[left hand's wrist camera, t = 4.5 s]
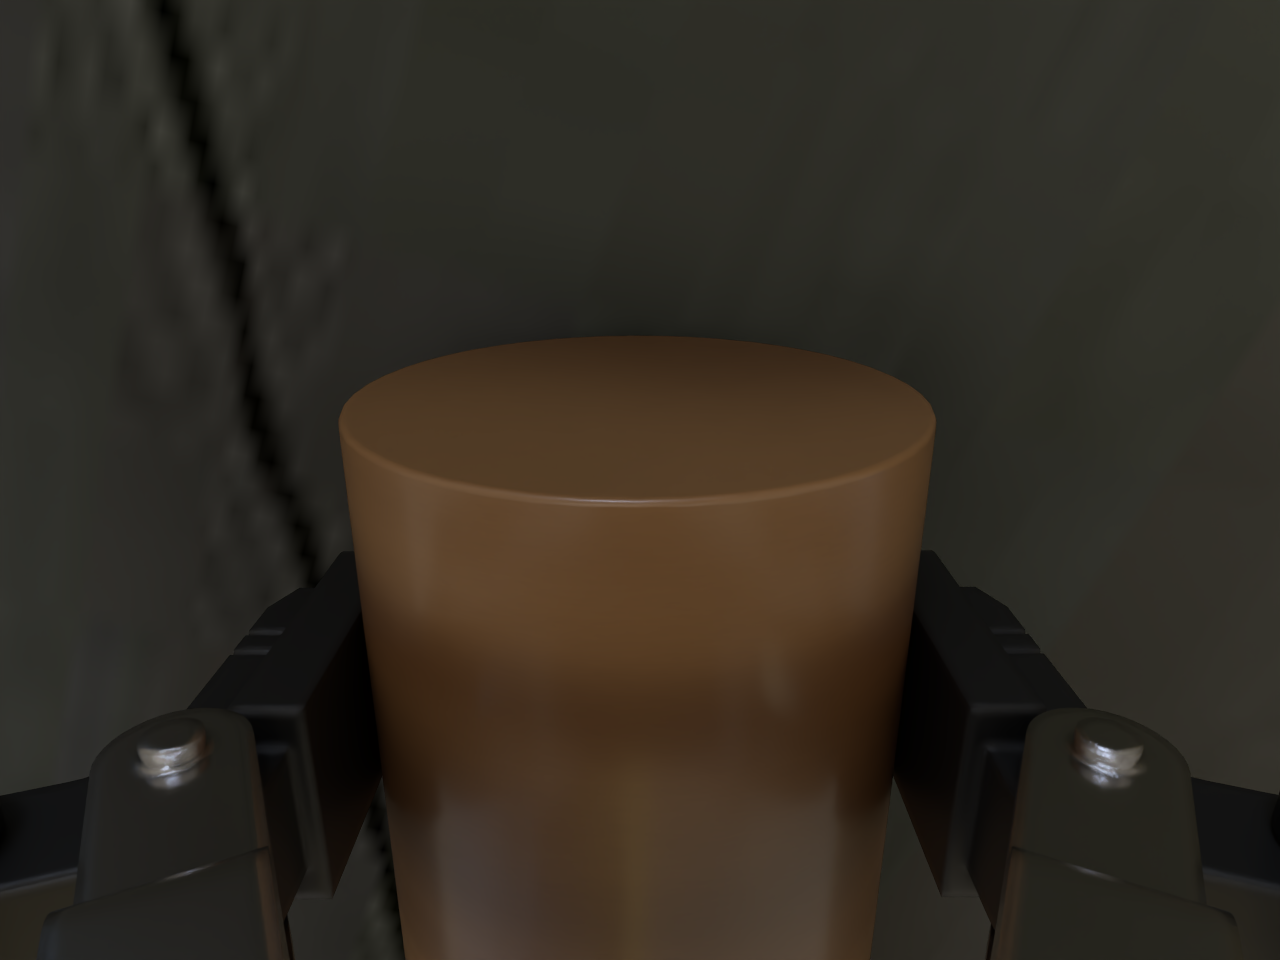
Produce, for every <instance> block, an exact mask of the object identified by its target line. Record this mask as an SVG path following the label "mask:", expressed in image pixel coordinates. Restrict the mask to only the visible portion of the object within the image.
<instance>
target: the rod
mask: <svg viewBox="0 0 1280 960" xmlns="http://www.w3.org/2000/svg"><path fill="white" fill-rule="evenodd" d="M338 422H339V434H340V441H341V449H342V457H343V465H344V473H345V481H346V489H347V497H348V505H349V513H350V521H351V529H352V537H353V545H354V553H355V561H356V569H357V577H358V585H359V593H360V601H361V609H362V617H363V625H364V632H365V640H366V648H367V656H368V664H369V672H370V680H371V688H372V696H373V704H374V712H375V720H376V728H377V736H378V744H379V752H380V760H381V768H382V776H383V784H384V792H385V800H386V808H387V816H388V823H389V831H390V839H391V847H392V855H393V863H394V871H395V879H396V887H397V895H398V903H399V911H400V919H401V927H402V935H403V943H404V951H405V959H406V960H870V956H871V948H872V940H873V932H874V924H875V916H876V908H877V900H878V892H879V883H880V875H881V867H882V859H883V851H884V843H885V835H886V827H887V819H888V811H889V803H890V795H891V787H892V779H893V770H894V762H895V754H896V746H897V738H898V730H899V722H900V714H901V706H902V698H903V690H904V682H905V674H906V666H907V657H908V649H909V641H910V633H911V625H912V617H913V609H914V601H915V593H916V585H917V577H918V569H919V561H920V553H921V544H922V536H923V528H924V520H925V512H926V504H927V496H928V488H929V480H930V472H931V464H932V456H933V448H934V440H935V431H936V417H935V415H934V412H933V409H932V407H931V404H930V403H929V402H928V401H927V400H926V399H925V398H924V396H923V395H922V394H920V393H919V392H918V391H916V390H915V389H914V388H912V387H911V386H910V385H908V384H906V383H904V382H902V381H900V380H898V379H897V378H895V377H893V376H890V375H888V374H886V373H883V372H881V371H878V370H876V369H873V368H871V367H868V366H865V365H862V364H858V363H855V362H852V361H849V360H845V359H841V358H837V357H834V356H830V355H826V354H821V353H816V352H811V351H807V350H802V349H796V348H790V347H784V346H778V345H770V344H763V343H755V342H747V341H737V340H726V339H713V338H699V337H677V336H599V337H577V338H562V339H550V340H539V341H529V342H521V343H513V344H505V345H498V346H492V347H486V348H480V349H474V350H469V351H464V352H460V353H455V354H450V355H446V356H442V357H438V358H434V359H430V360H427V361H423V362H420V363H417V364H414V365H411V366H408V367H405V368H402V369H400V370H397V371H395V372H392V373H390V374H387V375H385V376H383V377H381V378H379V379H377V380H375V381H373V382H371V383H369V384H367V385H366V386H364V387H363V388H362V389H360V390H359V391H357V392H356V393H355V394H353V395H352V397H351V398H350V399H349V400H348V401H347V402H346V403H345V405H344V407H343V409H342V412H341V414H340V417H339V420H338Z"/></svg>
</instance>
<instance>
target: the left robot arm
mask: <svg viewBox="0 0 1280 960" xmlns="http://www.w3.org/2000/svg"><path fill="white" fill-rule="evenodd" d="M893 776H894V779H895V781H896V784H897V786H898V789H899V791H900V794H901V796H902V799H903V801H904V804H905V806H906V809H907V811H908V814H909V816H910V819H911V821H912V824H913V826H914V829H915V831H916V834H917V836H918V839H919V842H920V844H921V847H922V849H923V852H924V854H925V857H926V859H927V862H928V864H929V867H930V869H931V872H932V874H933V877H934V879H935V882H936V884H937V887H938V889H939V892H940V894H941V897H980V900H981V902H982V904H983V906H984V909H985V911H986V913H987V915H988V917H989V920H990V922H991V926H990V931H989V937H988V942H987V948H986V955H985V960H1280V792H1279V795H1275V794H1270V793H1265V792H1260V791H1255V790H1250V789H1245V788H1240V787H1235V786H1230V785H1225V784H1220V783H1215V782H1210V781H1205V780H1201V779H1197V778H1193V777H1191V775H1190V770H1189V767H1188V764H1187V762H1186V760H1185V759H1184V757H1183V756H1182V754H1181V753H1180V752H1179V751H1178V750H1177V749H1176V748H1175V747H1174V746H1173V745H1172V744H1171V743H1170V742H1169V741H1167V740H1166V739H1165V738H1163V737H1162V736H1160V735H1159V734H1158V733H1156V732H1154V731H1152V730H1151V729H1149V728H1147V727H1145V726H1143V725H1141V724H1139V723H1137V722H1135V721H1133V720H1130V719H1127V718H1124V717H1122V716H1119V715H1115V714H1112V713H1108V712H1104V711H1099V710H1094V709H1087V708H1086V706H1085V705H1084V704H1083V703H1082V701H1081V700H1080V699H1079V698H1078V696H1077V695H1076V694H1075V692H1074V691H1073V690H1072V689H1071V687H1070V686H1069V685H1068V684H1067V682H1066V681H1065V680H1064V679H1063V677H1062V676H1061V675H1060V673H1059V672H1058V671H1057V670H1056V668H1055V667H1054V666H1053V665H1052V663H1051V662H1050V661H1049V659H1048V658H1047V657H1046V656H1045V654H1040V648H1039V647H1038V646H1037V644H1036V643H1035V642H1034V640H1033V639H1032V638H1031V637H1030V635H1029V634H1025V629H1024V628H1023V626H1022V625H1021V624H1020V623H1019V621H1018V620H1017V619H1016V618H1015V616H1014V615H1013V614H1012V613H1011V611H1010V610H1009V609H1008V607H1007V606H1005V605H1003V604H1002V603H1000V602H999V601H997V600H995V599H994V598H992V597H991V596H989V595H987V594H986V593H984V592H982V591H981V590H979V589H978V588H976V587H959V585H958V584H957V583H956V581H955V580H954V578H953V577H952V576H951V574H950V573H949V571H948V570H947V569H946V567H945V566H944V564H943V563H942V562H941V560H940V559H939V557H938V556H937V555H936V553H935V552H933V551H921V553H920V561H919V569H918V577H917V585H916V593H915V601H914V609H913V617H912V625H911V633H910V641H909V649H908V657H907V666H906V674H905V682H904V690H903V698H902V706H901V714H900V722H899V730H898V738H897V746H896V754H895V762H894V770H893ZM381 777H382V768H381V760H380V752H379V744H378V736H377V728H376V720H375V712H374V704H373V696H372V688H371V680H370V672H369V664H368V656H367V648H366V640H365V632H364V625H363V617H362V609H361V601H360V593H359V585H358V577H357V569H356V561H355V553H354V551H343V552H341V553H340V554H339V556H338V557H337V558H336V560H335V561H334V562H333V564H332V565H331V567H330V568H329V569H328V571H327V572H326V573H325V575H324V576H323V578H322V579H321V580H320V582H319V583H318V584H317V586H316V587H315V588H299V589H297V590H296V591H294V592H292V593H291V594H289V595H288V596H286V597H284V598H283V599H281V600H279V601H278V602H276V603H275V604H273V605H271V606H270V607H268V608H267V609H266V610H265V612H264V613H263V614H262V616H261V617H260V618H259V619H258V621H257V622H256V623H255V624H254V626H253V627H252V628H251V629H250V631H249V635H246V636H245V637H244V638H243V639H242V641H241V642H240V643H239V644H238V646H237V647H236V648H235V649H234V655H230V656H229V657H228V658H227V659H226V661H225V662H224V663H223V664H222V666H221V667H220V668H219V669H218V671H217V672H216V673H215V674H214V676H213V677H212V678H211V679H210V681H209V682H208V683H207V684H206V686H205V687H204V688H203V689H202V691H201V692H200V693H199V694H198V696H197V697H196V698H195V700H194V701H193V702H192V703H191V705H190V706H189V707H188V708H187V709H186V710H181V711H176V712H172V713H168V714H165V715H161V716H158V717H156V718H153V719H150V720H147V721H145V722H143V723H141V724H139V725H137V726H135V727H133V728H131V729H129V730H128V731H126V732H124V733H122V734H121V735H120V736H118V737H117V738H115V739H114V740H113V741H111V742H110V743H109V744H108V745H107V746H106V747H105V748H104V749H103V750H102V751H101V752H100V753H99V754H98V756H97V757H96V759H95V760H94V762H93V764H92V767H91V770H90V775H89V777H87V778H83V779H79V780H75V781H71V782H67V783H62V784H57V785H52V786H47V787H42V788H37V789H32V790H27V791H22V792H17V793H12V794H7V795H2V796H0V960H295V955H294V948H293V942H292V937H291V931H290V926H289V921H288V915H287V913H288V911H289V909H290V907H291V904H292V902H293V900H294V899H332V898H333V896H334V893H335V891H336V888H337V886H338V883H339V881H340V878H341V876H342V873H343V871H344V868H345V866H346V864H347V861H348V859H349V856H350V854H351V851H352V849H353V846H354V844H355V841H356V839H357V836H358V834H359V831H360V829H361V827H362V824H363V822H364V819H365V817H366V814H367V812H368V809H369V807H370V804H371V802H372V799H373V797H374V794H375V792H376V790H377V787H378V785H379V782H380V780H381Z"/></svg>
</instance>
